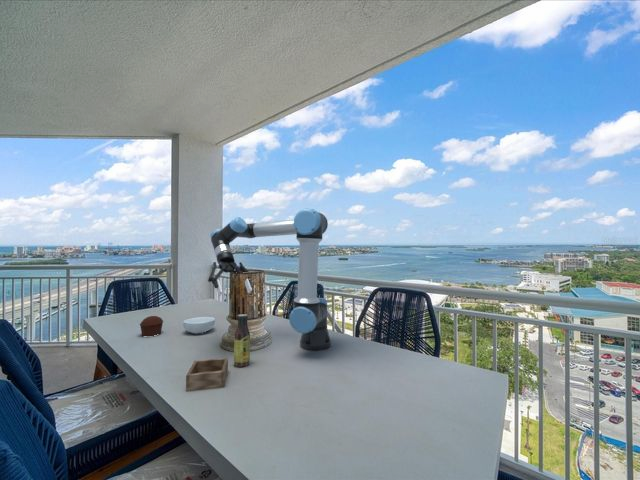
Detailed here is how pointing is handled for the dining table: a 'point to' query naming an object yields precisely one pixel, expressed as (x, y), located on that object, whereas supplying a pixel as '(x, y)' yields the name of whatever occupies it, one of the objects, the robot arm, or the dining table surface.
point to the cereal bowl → (199, 324)
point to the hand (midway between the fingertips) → (235, 292)
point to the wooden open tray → (207, 374)
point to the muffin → (151, 326)
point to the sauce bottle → (242, 342)
